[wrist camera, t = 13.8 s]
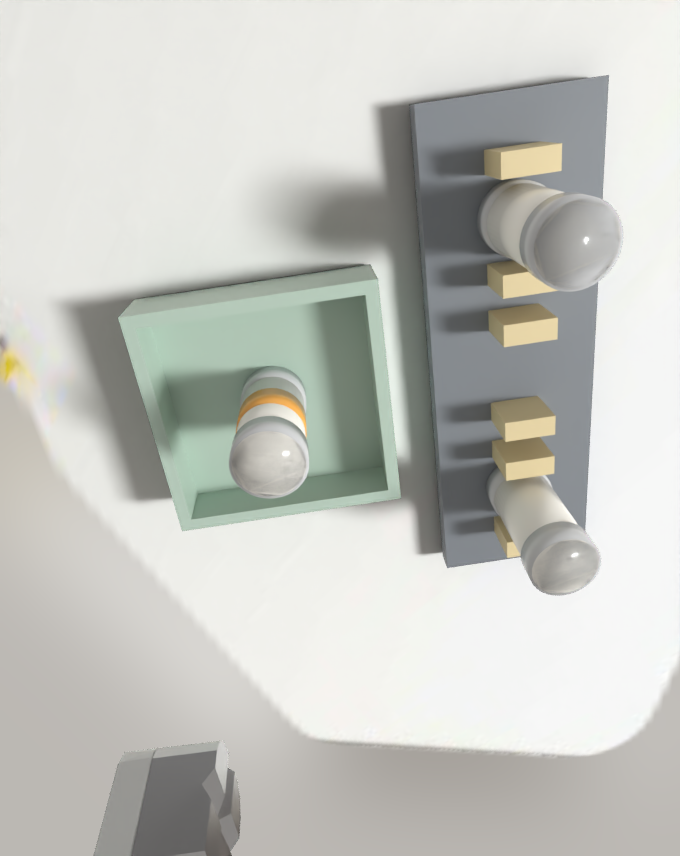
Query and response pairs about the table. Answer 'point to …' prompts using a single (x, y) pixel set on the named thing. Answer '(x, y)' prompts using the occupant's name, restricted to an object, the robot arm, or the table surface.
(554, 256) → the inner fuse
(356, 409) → the parts tray
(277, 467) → the marked fuse
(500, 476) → the outer fuse
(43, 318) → the table surface
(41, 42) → the table surface
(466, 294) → the fuse holder
